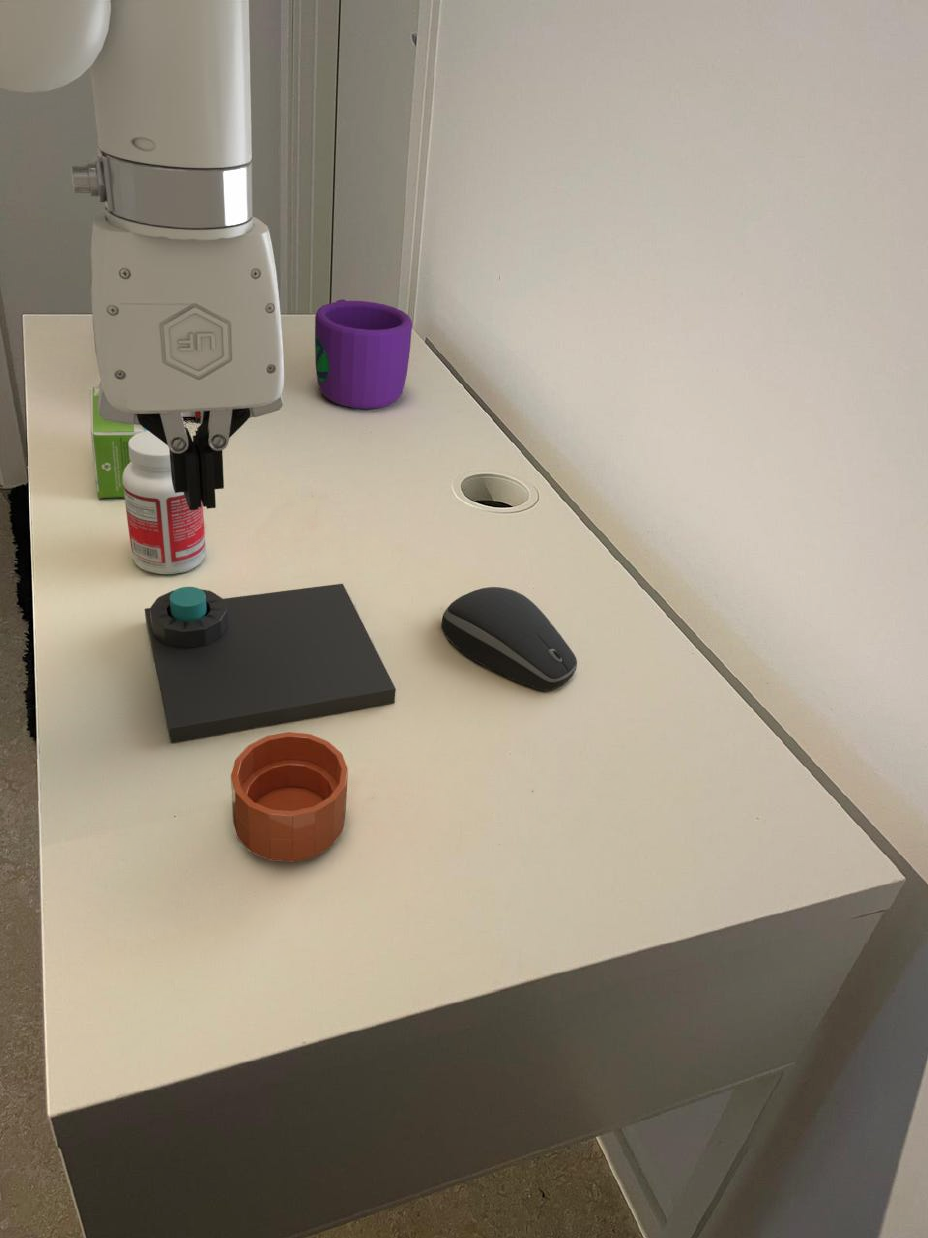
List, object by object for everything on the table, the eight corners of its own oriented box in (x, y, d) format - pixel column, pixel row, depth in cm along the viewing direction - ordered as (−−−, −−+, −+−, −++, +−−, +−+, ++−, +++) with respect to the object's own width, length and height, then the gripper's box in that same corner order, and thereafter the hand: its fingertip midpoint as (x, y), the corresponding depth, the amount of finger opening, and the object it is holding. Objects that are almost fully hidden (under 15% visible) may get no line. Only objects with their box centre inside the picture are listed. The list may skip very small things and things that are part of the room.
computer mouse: (540, 705, 69) (549, 664, 66) (422, 630, 74) (426, 591, 72) (591, 666, 73) (601, 627, 71) (476, 599, 79) (482, 560, 77)
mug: (419, 411, 110) (427, 330, 104) (329, 417, 106) (332, 333, 100) (372, 358, 122) (376, 283, 116) (290, 362, 118) (290, 284, 112)
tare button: (173, 625, 67) (172, 608, 66) (168, 605, 69) (167, 588, 68) (209, 620, 68) (208, 603, 67) (203, 600, 70) (202, 584, 69)
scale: (170, 743, 61) (167, 710, 59) (145, 622, 71) (142, 591, 69) (394, 703, 67) (397, 672, 65) (342, 596, 77) (343, 567, 75)
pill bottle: (206, 538, 82) (199, 425, 75) (206, 576, 77) (199, 459, 71) (133, 539, 80) (120, 424, 74) (129, 578, 76) (115, 458, 69)
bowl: (246, 879, 53) (244, 827, 50) (225, 795, 58) (222, 744, 55) (357, 852, 56) (361, 801, 53) (328, 774, 60) (330, 723, 58)
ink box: (97, 451, 93) (78, 315, 84) (151, 449, 94) (138, 315, 86) (97, 501, 85) (77, 356, 77) (157, 498, 86) (143, 356, 78)
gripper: (26, 206, 42) (79, 542, 53) (337, 214, 48) (327, 516, 58) (20, 170, 47) (69, 481, 58) (300, 181, 53) (297, 463, 64)
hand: (198, 498), depth 58 cm, fingers closed
